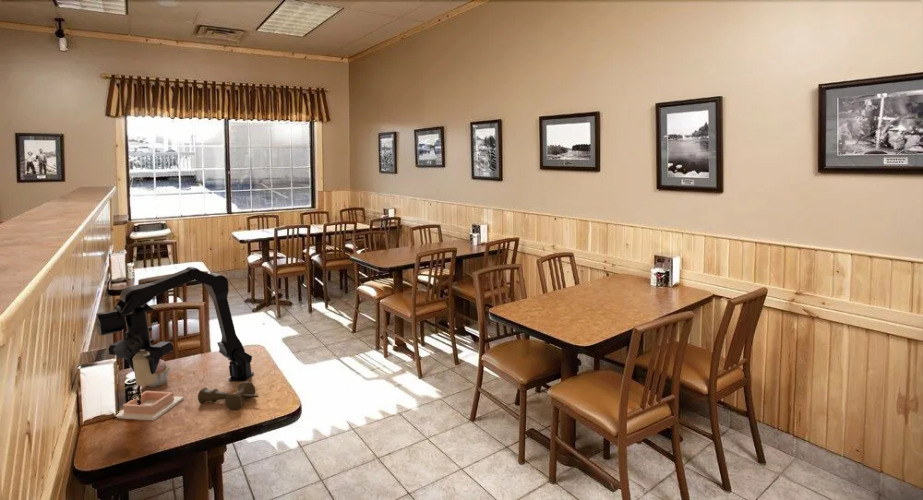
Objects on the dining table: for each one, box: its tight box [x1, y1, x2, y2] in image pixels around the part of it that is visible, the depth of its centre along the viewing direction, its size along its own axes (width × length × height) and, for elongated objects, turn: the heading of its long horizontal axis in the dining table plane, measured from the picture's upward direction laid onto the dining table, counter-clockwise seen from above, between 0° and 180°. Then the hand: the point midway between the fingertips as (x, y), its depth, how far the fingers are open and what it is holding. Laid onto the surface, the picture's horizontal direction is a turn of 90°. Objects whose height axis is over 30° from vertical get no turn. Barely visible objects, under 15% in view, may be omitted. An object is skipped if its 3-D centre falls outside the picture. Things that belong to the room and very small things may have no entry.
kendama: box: [197, 380, 259, 411], centre depth 173 cm, size 6×10×20 cm
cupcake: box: [146, 358, 171, 388], centre depth 188 cm, size 9×9×10 cm
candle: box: [132, 351, 156, 387], centre depth 168 cm, size 6×6×10 cm
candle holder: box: [116, 390, 185, 421], centre depth 171 cm, size 14×14×3 cm
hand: (145, 373), depth 169 cm, fingers closed on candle, 5 cm apart
